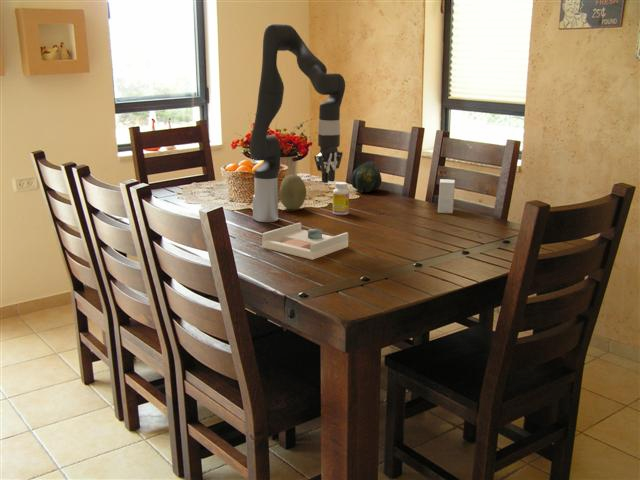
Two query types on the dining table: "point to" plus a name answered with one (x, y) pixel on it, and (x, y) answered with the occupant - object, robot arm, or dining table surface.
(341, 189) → the supplement bottle
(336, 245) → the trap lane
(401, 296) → the dining table surface
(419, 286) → the dining table surface
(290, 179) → the fruit
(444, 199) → the small box
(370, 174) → the squash
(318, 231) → the puck
